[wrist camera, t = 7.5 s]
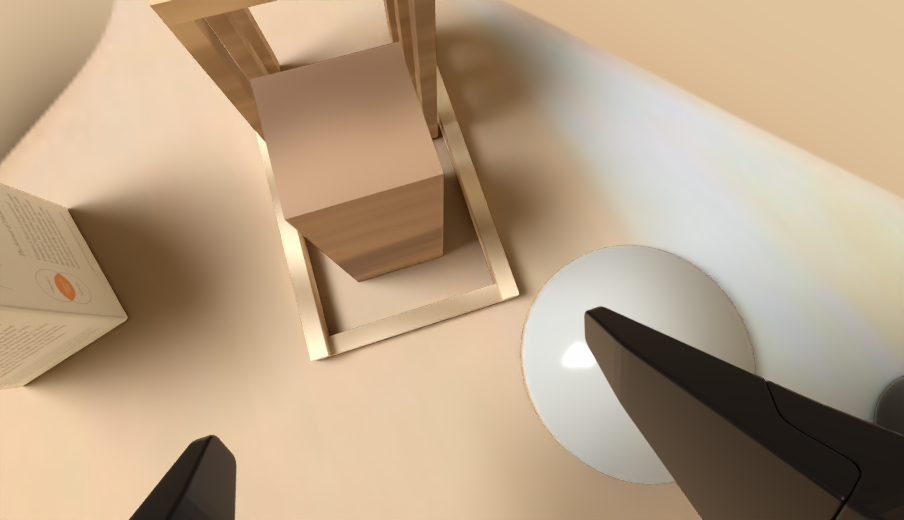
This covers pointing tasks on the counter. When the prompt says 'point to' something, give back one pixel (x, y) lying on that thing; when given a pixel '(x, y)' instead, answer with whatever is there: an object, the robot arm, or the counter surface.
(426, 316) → the track
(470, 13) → the counter surface
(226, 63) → the wooden toy stool
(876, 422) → the supplement bottle
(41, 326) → the small box
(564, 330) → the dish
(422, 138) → the walnut block
